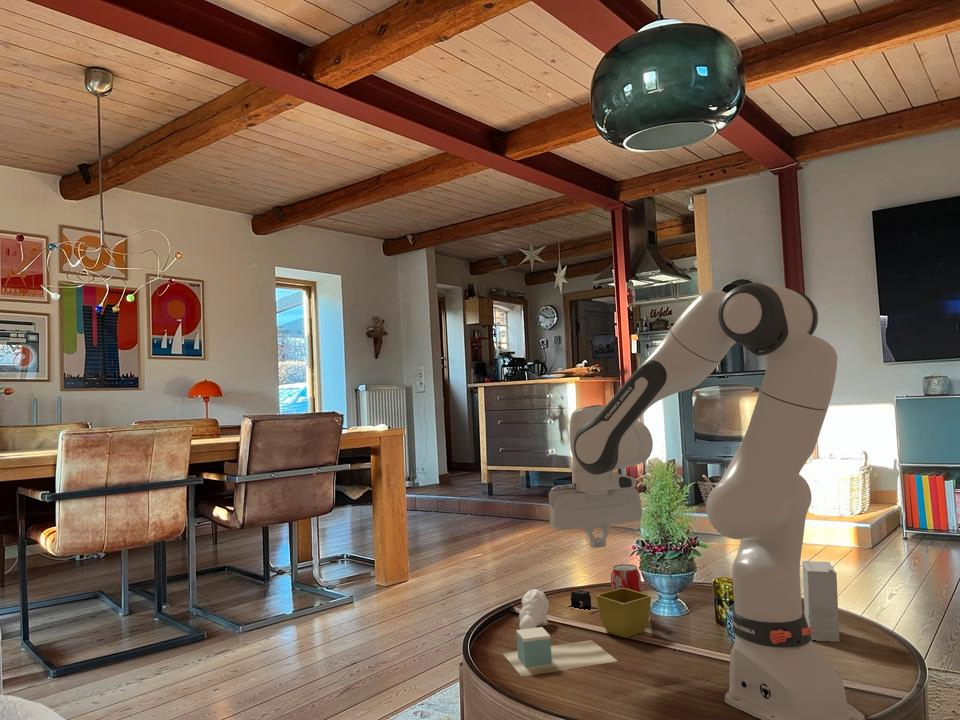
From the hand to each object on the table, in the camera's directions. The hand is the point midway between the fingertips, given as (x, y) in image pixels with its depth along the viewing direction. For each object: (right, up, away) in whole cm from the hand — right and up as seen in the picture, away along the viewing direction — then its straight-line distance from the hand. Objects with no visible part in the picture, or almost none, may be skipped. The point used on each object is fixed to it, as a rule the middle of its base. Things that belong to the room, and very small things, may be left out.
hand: (598, 546), depth 153 cm
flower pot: (+7, -21, +5) cm, 23 cm away
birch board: (-9, -21, -8) cm, 24 cm away
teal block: (-15, -15, -8) cm, 23 cm away
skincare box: (+48, -19, 0) cm, 51 cm away
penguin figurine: (-13, -23, +11) cm, 29 cm away
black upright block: (0, -23, +27) cm, 36 cm away
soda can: (+10, -22, +18) cm, 30 cm away
